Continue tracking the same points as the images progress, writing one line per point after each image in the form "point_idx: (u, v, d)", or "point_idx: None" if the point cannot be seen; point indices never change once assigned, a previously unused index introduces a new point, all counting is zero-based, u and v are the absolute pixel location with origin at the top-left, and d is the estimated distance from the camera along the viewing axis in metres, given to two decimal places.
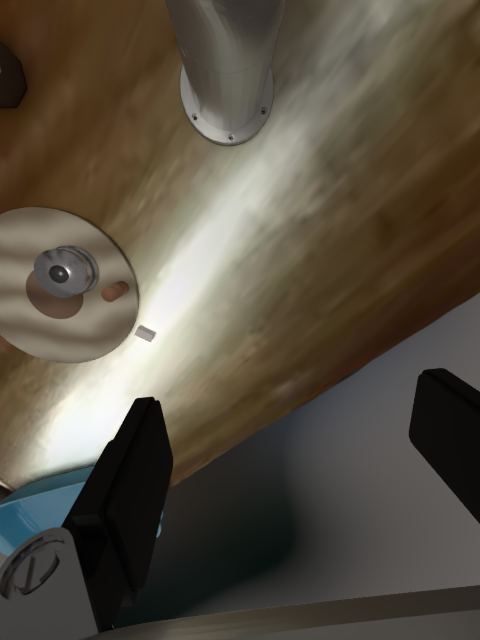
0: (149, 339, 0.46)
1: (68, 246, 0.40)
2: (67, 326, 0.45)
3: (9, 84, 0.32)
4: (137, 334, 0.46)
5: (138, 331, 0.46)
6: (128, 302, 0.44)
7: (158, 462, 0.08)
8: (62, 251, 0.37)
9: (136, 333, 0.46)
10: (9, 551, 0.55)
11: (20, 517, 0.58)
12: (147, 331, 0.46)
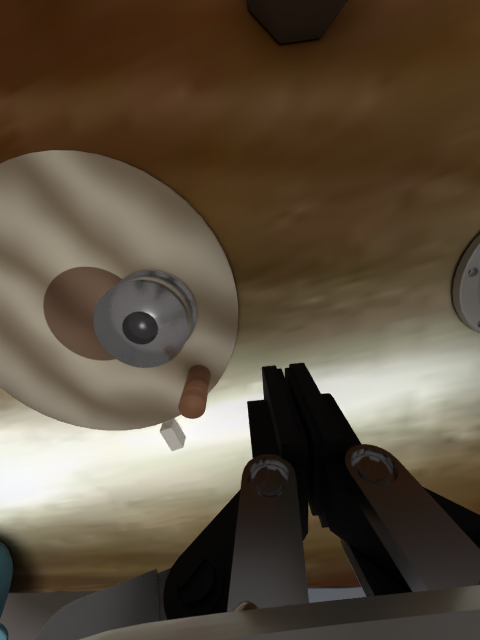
0: (173, 447, 0.29)
1: (179, 283, 0.22)
2: (72, 364, 0.25)
3: (321, 15, 0.16)
4: (163, 433, 0.28)
5: (169, 432, 0.28)
6: None
7: None
8: (177, 304, 0.19)
9: (163, 431, 0.28)
10: None
11: None
12: (179, 434, 0.29)
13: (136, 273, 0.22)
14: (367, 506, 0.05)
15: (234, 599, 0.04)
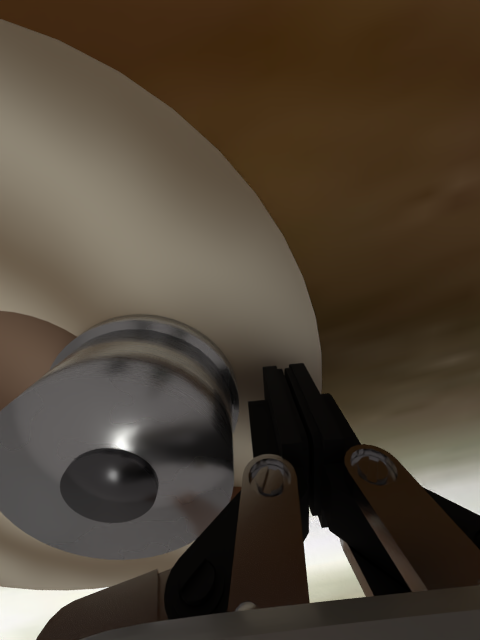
0: None
1: (204, 347, 0.10)
2: None
3: None
4: None
5: None
6: None
7: None
8: (211, 428, 0.07)
9: None
10: None
11: None
12: None
13: (105, 327, 0.09)
14: (366, 506, 0.05)
15: (235, 599, 0.04)
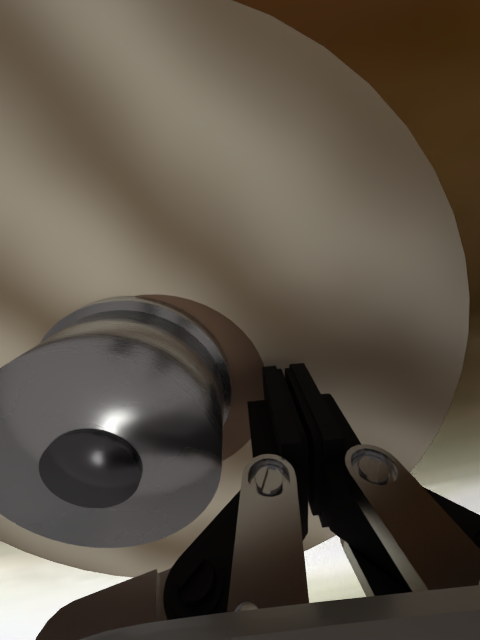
0: None
1: (203, 337, 0.10)
2: None
3: None
4: None
5: None
6: None
7: None
8: (204, 420, 0.07)
9: None
10: None
11: None
12: None
13: (104, 305, 0.09)
14: (367, 506, 0.05)
15: (234, 599, 0.04)
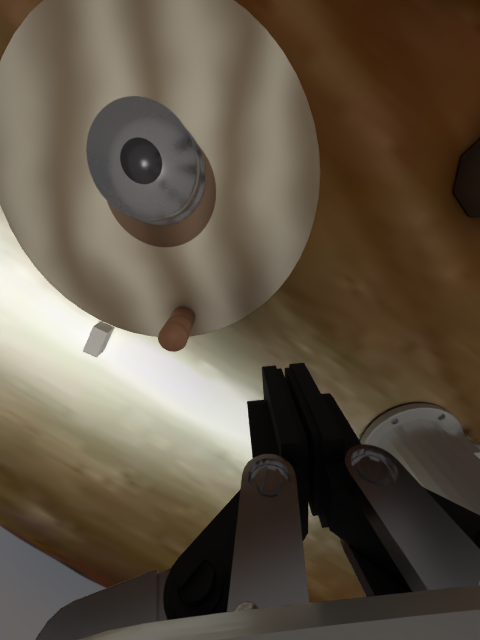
0: (88, 350, 0.26)
1: (203, 182, 0.20)
2: (90, 200, 0.21)
3: None
4: (94, 331, 0.25)
5: (100, 334, 0.25)
6: (157, 324, 0.25)
7: None
8: (190, 188, 0.18)
9: (96, 330, 0.25)
10: None
11: None
12: (104, 344, 0.26)
13: None
14: (367, 506, 0.05)
15: (234, 599, 0.04)
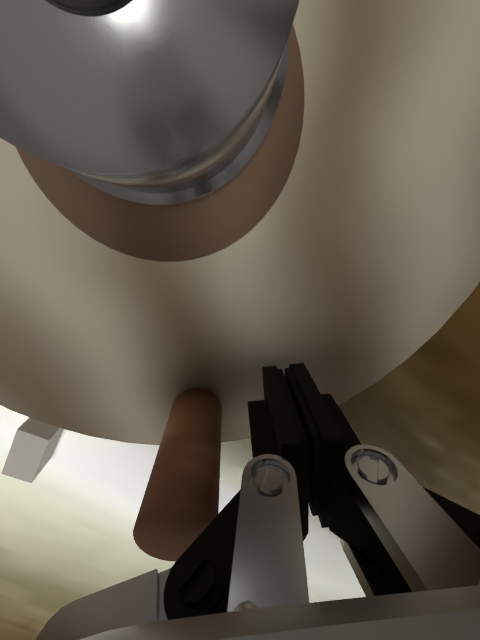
0: (12, 471, 0.12)
1: (277, 87, 0.07)
2: None
3: None
4: (21, 438, 0.12)
5: (35, 443, 0.12)
6: (140, 422, 0.12)
7: None
8: (273, 50, 0.04)
9: (24, 436, 0.12)
10: None
11: None
12: (48, 453, 0.13)
13: None
14: (367, 506, 0.05)
15: (234, 599, 0.04)
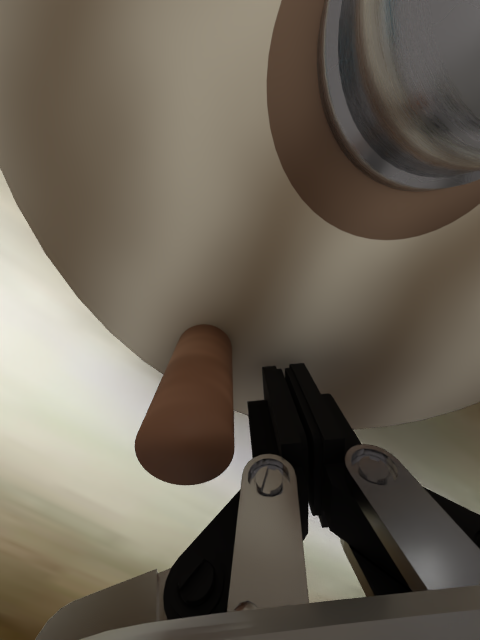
0: None
1: None
2: None
3: None
4: None
5: None
6: (141, 321, 0.10)
7: None
8: None
9: None
10: None
11: None
12: None
13: None
14: (367, 506, 0.05)
15: (234, 599, 0.04)
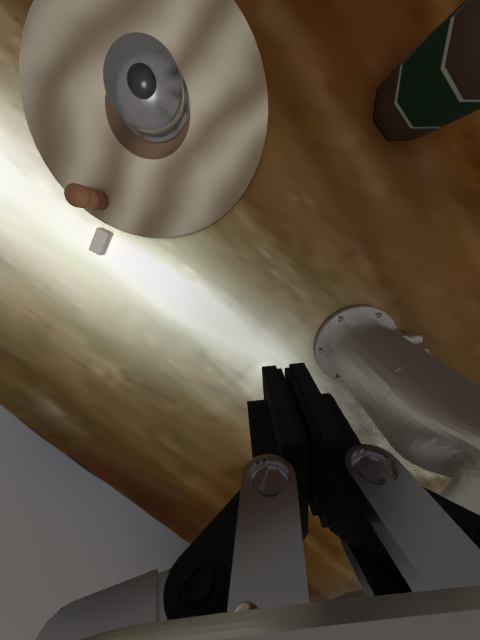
0: (92, 248, 0.33)
1: (175, 132, 0.28)
2: (97, 71, 0.27)
3: (396, 128, 0.28)
4: (98, 232, 0.32)
5: (102, 234, 0.32)
6: None
7: None
8: (158, 123, 0.25)
9: (99, 231, 0.32)
10: None
11: None
12: (105, 245, 0.33)
13: (187, 95, 0.27)
14: (367, 506, 0.05)
15: (234, 599, 0.04)
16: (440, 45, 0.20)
